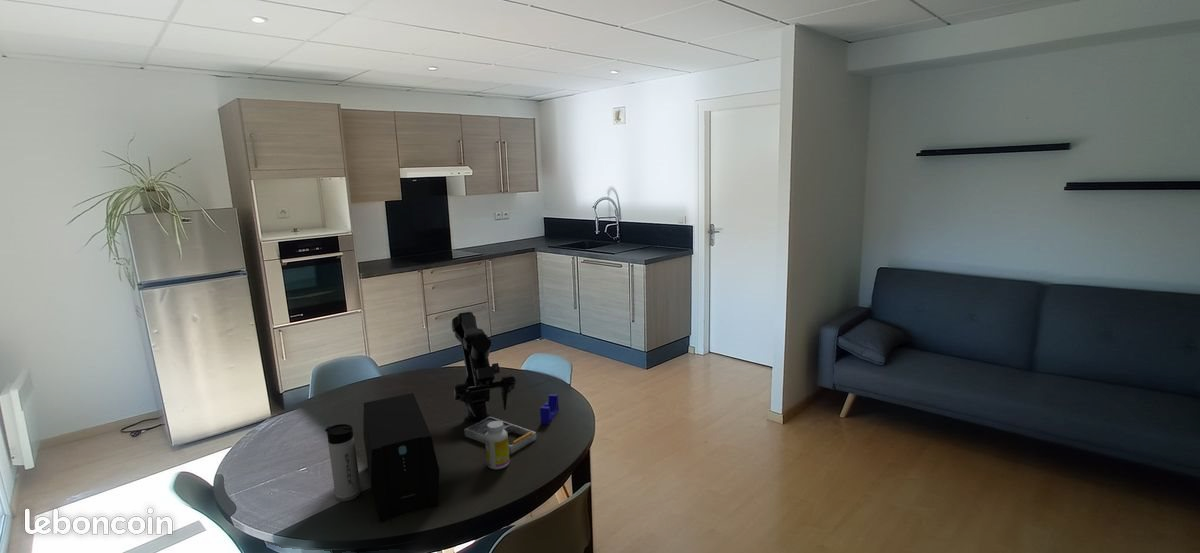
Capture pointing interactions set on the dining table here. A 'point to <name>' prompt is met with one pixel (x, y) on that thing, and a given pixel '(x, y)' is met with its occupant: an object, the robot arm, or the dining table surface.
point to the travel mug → (343, 462)
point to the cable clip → (549, 409)
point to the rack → (480, 429)
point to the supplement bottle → (496, 445)
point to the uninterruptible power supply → (400, 457)
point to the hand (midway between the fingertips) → (490, 412)
